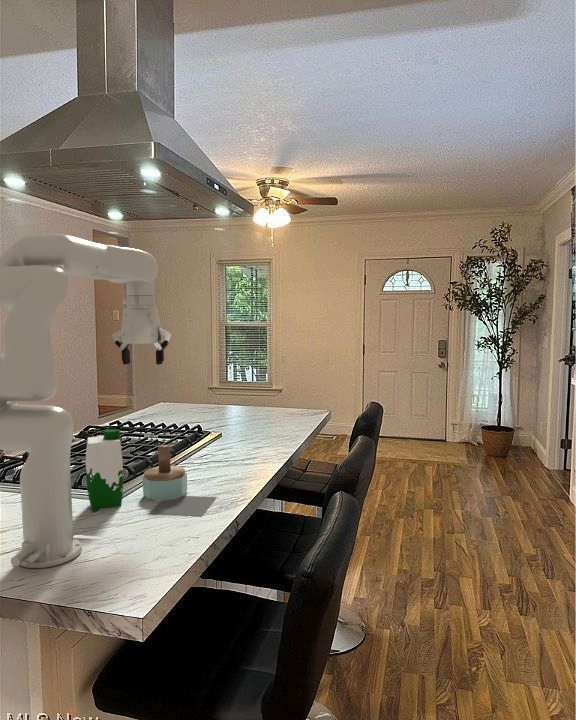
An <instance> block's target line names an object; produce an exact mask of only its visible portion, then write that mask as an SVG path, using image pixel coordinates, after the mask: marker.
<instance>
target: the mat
mask: <svg viewBox="0 0 576 720" xmlns="http://www.w3.org/2000/svg"><path fill="white" fill-rule="evenodd" d="M217 498H218V496H199V495H197V496H196V495H195V496H193V495H184V496H182V497H180V498H177V499H173V500H166V501H159V502H158V503H157V505H155V507H154V508H152V509H151V510H150V511H149V512H148V513H147V515H154V516H174V517H175V516H177V517H178V516H179V517H198V518H199V517H200V518H202V517H203V516H204V515H205V514H206V512H208V510H209V509H210V507H211V506H212V504H213V503H214V502H215V501H216V500H217Z"/></svg>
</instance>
